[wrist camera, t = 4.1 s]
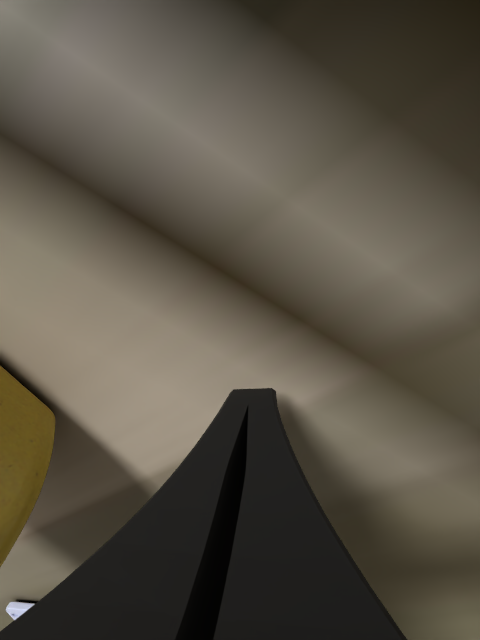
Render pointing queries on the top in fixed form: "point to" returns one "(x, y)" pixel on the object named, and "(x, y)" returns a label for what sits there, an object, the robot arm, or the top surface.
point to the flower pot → (21, 456)
